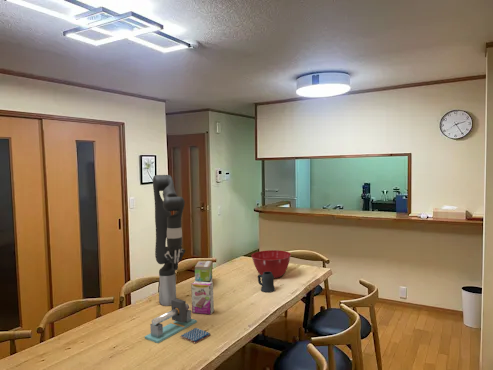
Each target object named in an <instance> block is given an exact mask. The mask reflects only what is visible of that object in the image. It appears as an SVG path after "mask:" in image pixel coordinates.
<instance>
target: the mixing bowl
mask: <svg viewBox="0 0 493 370" xmlns="http://www.w3.org/2000/svg"><path fill="white" fill-rule="evenodd" d="M250 255H251V259H252V261H253V264H254V267H255V268H256V271H257V273H258V275H263V272H267V271H268V272H272V274H273V276H274V279H278V278H281V277H282V276H283V275H284V274H285V273H286V271H287V269H288V267H289V264H290V261H291V260H290V259H291V256H292V253H291V252H289V251H285V250H279V249H278V250H277V249H276V250H275V249H271V250H270V249H269V250H261V251H256V252H254V253H252V254H250Z"/></svg>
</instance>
